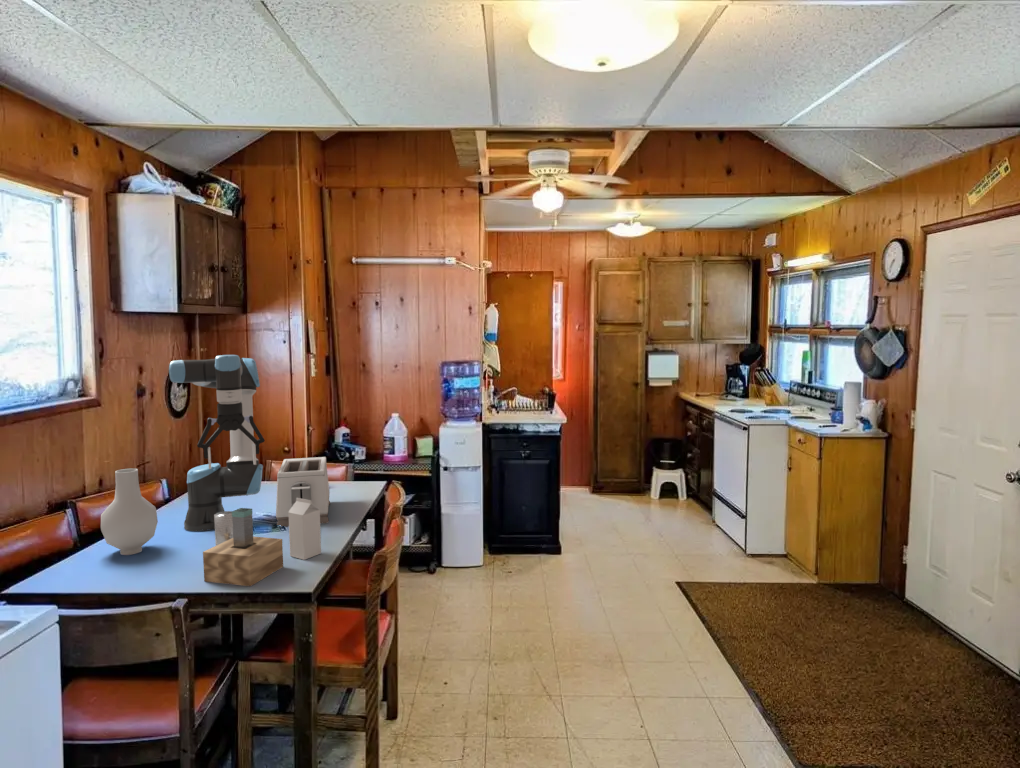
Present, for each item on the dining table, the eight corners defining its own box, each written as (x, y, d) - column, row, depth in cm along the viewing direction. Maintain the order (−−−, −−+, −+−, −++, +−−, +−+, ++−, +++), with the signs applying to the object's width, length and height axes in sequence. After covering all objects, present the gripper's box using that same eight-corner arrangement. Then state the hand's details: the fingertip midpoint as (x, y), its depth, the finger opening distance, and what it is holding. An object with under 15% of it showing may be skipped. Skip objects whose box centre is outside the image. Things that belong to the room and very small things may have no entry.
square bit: (234, 562, 195) (231, 511, 193) (243, 558, 199) (240, 507, 197) (245, 564, 194) (243, 512, 192) (254, 559, 198) (252, 508, 196)
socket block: (204, 581, 191) (202, 551, 190) (239, 562, 206) (238, 535, 205) (250, 586, 187) (249, 556, 186) (283, 566, 202) (282, 538, 201)
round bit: (211, 557, 211) (209, 515, 210) (225, 550, 217) (223, 510, 216) (228, 559, 209) (226, 517, 208) (241, 552, 216) (239, 511, 214)
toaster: (275, 530, 240) (272, 476, 239) (283, 506, 273) (281, 458, 272) (328, 525, 245) (326, 472, 243) (330, 502, 278) (328, 455, 276)
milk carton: (304, 560, 208) (302, 503, 206) (289, 556, 211) (287, 500, 210) (321, 553, 214) (319, 498, 212) (307, 550, 217) (305, 495, 216)
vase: (100, 550, 219) (95, 469, 217) (155, 540, 229) (150, 463, 226) (104, 564, 206) (99, 478, 203) (162, 553, 215) (157, 471, 213)
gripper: (186, 406, 200) (190, 472, 203) (271, 401, 211) (273, 464, 213) (187, 403, 207) (190, 467, 209) (269, 398, 218) (271, 459, 220)
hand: (232, 466), depth 211 cm, fingers open, 13 cm apart
